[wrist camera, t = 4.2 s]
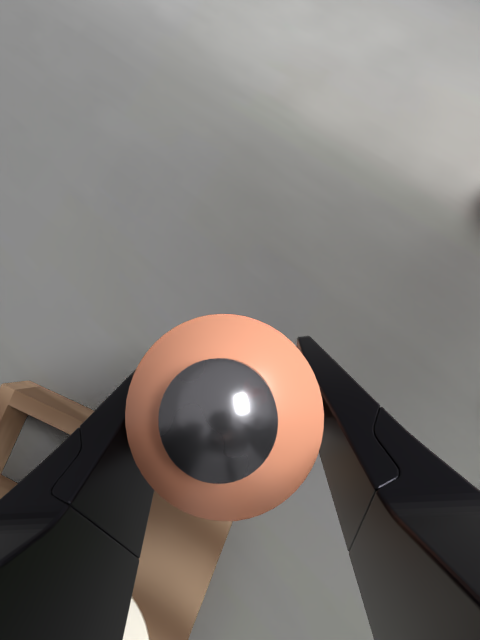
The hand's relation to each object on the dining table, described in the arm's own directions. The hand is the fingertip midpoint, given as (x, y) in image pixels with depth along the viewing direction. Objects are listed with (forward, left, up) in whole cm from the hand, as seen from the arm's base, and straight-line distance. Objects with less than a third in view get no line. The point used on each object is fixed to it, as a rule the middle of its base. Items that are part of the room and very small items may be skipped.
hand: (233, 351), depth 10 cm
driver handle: (-1, -1, -7) cm, 7 cm away
